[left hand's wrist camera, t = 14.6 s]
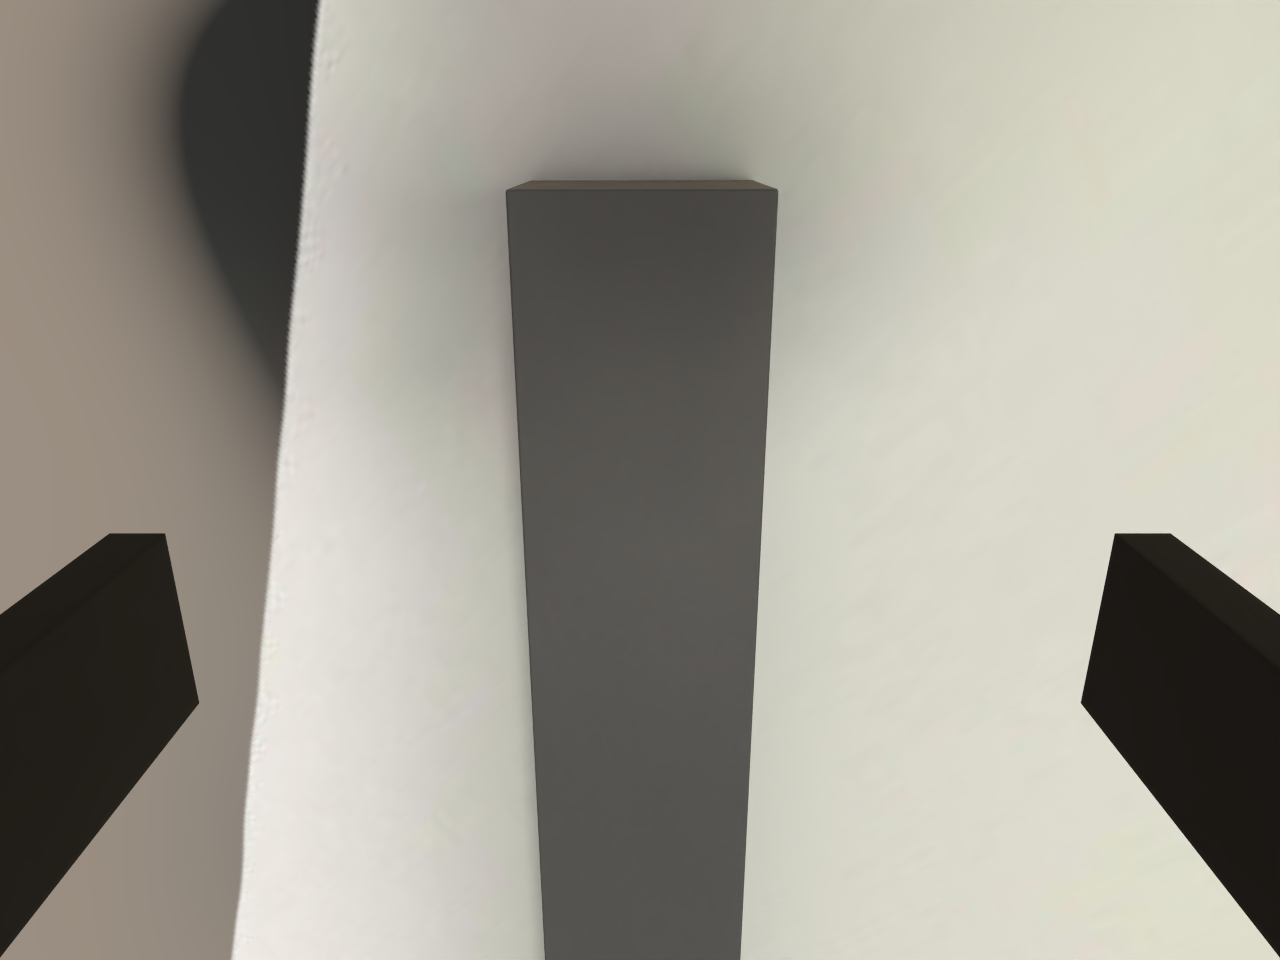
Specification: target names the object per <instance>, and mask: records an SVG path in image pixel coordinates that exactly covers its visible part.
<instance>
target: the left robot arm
mask: <svg viewBox="0 0 1280 960" xmlns="http://www.w3.org/2000/svg"><path fill="white" fill-rule="evenodd" d="M198 704H199V700H198V695H197V690H196V685H195V680H194V675H193V670H192V665H191V660H190V655H189V650H188V645H187V640H186V635H185V630H184V626H183V620H182V616H181V611H180V606H179V601H178V596H177V591H176V586H175V581H174V576H173V571H172V566H171V561H170V556H169V551H168V546H167V541H166V536H165V534H108V535H107V536H106V537H104V538H103V539H102V540H100V541H99V542H98V543H96V544H95V545H93V546H92V547H91V548H89V549H88V550H87V551H85V552H84V553H83V554H81V555H80V556H79V557H77V558H76V559H75V560H73V561H72V562H71V563H69V564H68V565H67V566H65V567H64V568H62V569H61V570H60V571H58V572H57V573H56V574H54V575H53V576H52V577H50V578H49V579H48V580H46V581H45V582H44V583H42V584H41V585H40V586H38V587H37V588H36V589H34V590H33V591H32V592H30V593H29V594H27V595H26V596H25V597H23V598H22V599H21V600H19V601H18V602H17V603H15V604H14V605H13V606H11V607H10V608H9V609H7V610H6V611H5V612H3V613H2V614H1V615H0V957H1V956H2V954H3V953H4V952H5V951H6V949H7V948H8V947H9V945H10V944H11V943H12V942H13V940H14V939H15V938H16V937H17V935H18V934H19V933H20V931H21V930H22V929H23V927H24V926H25V925H26V924H27V922H28V921H29V920H30V919H31V917H32V916H33V915H34V913H35V912H36V911H37V910H38V908H39V907H40V906H41V905H42V903H43V902H44V901H45V899H46V898H47V897H48V895H49V894H50V893H51V892H52V890H53V889H54V888H55V887H56V885H57V884H58V883H59V881H60V880H61V879H62V878H63V876H64V875H65V874H66V873H67V871H68V870H69V869H70V867H71V866H72V865H73V864H74V862H75V861H76V860H77V859H78V857H79V856H80V855H81V853H82V852H83V851H84V850H85V848H86V847H87V846H88V844H89V843H90V842H91V841H92V839H93V838H94V837H95V836H96V834H97V833H98V832H99V830H100V829H101V828H102V827H103V825H104V824H105V823H106V821H107V820H108V819H109V818H110V816H111V815H112V814H113V812H114V811H115V810H116V809H117V807H118V806H119V805H120V803H121V802H122V801H123V800H124V798H125V797H126V796H127V795H128V793H129V792H130V791H131V790H132V788H133V787H134V786H135V784H136V783H137V782H138V781H139V779H140V778H141V777H142V775H143V774H144V773H145V772H146V770H147V769H148V768H149V767H150V765H151V764H152V763H153V761H154V760H155V759H156V758H157V756H158V755H159V754H160V752H161V751H162V750H163V749H164V747H165V746H166V745H167V743H168V742H169V741H170V740H171V738H172V737H173V736H174V735H175V733H176V732H177V731H178V729H179V728H180V727H181V726H182V724H183V723H184V722H185V720H186V719H187V718H188V717H189V715H190V714H191V713H192V711H193V710H194V709H195V708H196V706H197V705H198ZM1081 704H1082V705H1083V706H1084V708H1085V709H1086V710H1087V712H1088V713H1089V714H1090V715H1091V717H1092V718H1093V719H1094V720H1095V722H1096V723H1097V724H1098V726H1099V727H1100V728H1101V729H1102V731H1103V732H1104V733H1105V735H1106V736H1107V737H1108V738H1109V740H1110V741H1111V742H1112V743H1113V745H1114V746H1115V747H1116V749H1117V750H1118V751H1119V752H1120V754H1121V755H1122V756H1123V758H1124V759H1125V760H1126V761H1127V763H1128V764H1129V765H1130V767H1131V768H1132V769H1133V770H1134V772H1135V773H1136V774H1137V775H1138V777H1139V778H1140V779H1141V781H1142V782H1143V783H1144V784H1145V786H1146V787H1147V788H1148V790H1149V791H1150V792H1151V793H1152V795H1153V796H1154V797H1155V798H1156V800H1157V801H1158V802H1159V804H1160V805H1161V806H1162V807H1163V809H1164V810H1165V811H1166V813H1167V814H1168V815H1169V816H1170V818H1171V819H1172V820H1173V821H1174V823H1175V824H1176V825H1177V827H1178V828H1179V829H1180V830H1181V832H1182V833H1183V834H1184V836H1185V837H1186V838H1187V839H1188V841H1189V842H1190V843H1191V844H1192V846H1193V847H1194V848H1195V850H1196V851H1197V852H1198V853H1199V855H1200V856H1201V857H1202V859H1203V860H1204V861H1205V862H1206V864H1207V865H1208V866H1209V867H1210V869H1211V870H1212V871H1213V873H1214V874H1215V875H1216V876H1217V878H1218V879H1219V880H1220V882H1221V883H1222V884H1223V885H1224V887H1225V888H1226V889H1227V890H1228V892H1229V893H1230V894H1231V896H1232V897H1233V898H1234V899H1235V901H1236V902H1237V903H1238V905H1239V906H1240V907H1241V908H1242V910H1243V911H1244V912H1245V913H1246V915H1247V916H1248V917H1249V919H1250V920H1251V921H1252V922H1253V924H1254V925H1255V926H1256V928H1257V929H1258V930H1259V931H1260V933H1261V934H1262V935H1263V937H1264V938H1265V939H1266V940H1267V942H1268V943H1269V944H1270V945H1271V947H1272V948H1273V949H1274V951H1275V952H1276V953H1277V954H1278V956H1279V957H1280V615H1279V614H1278V613H1277V612H1275V611H1274V610H1273V609H1271V608H1270V607H1269V606H1267V605H1266V604H1265V603H1263V602H1262V601H1261V600H1259V599H1258V598H1257V597H1255V596H1254V595H1253V594H1251V593H1250V592H1248V591H1247V590H1246V589H1244V588H1243V587H1242V586H1240V585H1239V584H1238V583H1236V582H1235V581H1234V580H1232V579H1231V578H1230V577H1228V576H1227V575H1226V574H1224V573H1223V572H1222V571H1220V570H1219V569H1218V568H1216V567H1215V566H1213V565H1212V564H1211V563H1209V562H1208V561H1207V560H1205V559H1204V558H1203V557H1201V556H1200V555H1199V554H1197V553H1196V552H1195V551H1193V550H1192V549H1191V548H1189V547H1188V546H1187V545H1185V544H1184V543H1183V542H1181V541H1180V540H1178V539H1177V538H1176V537H1174V536H1173V535H1172V534H1115V536H1114V541H1113V546H1112V551H1111V556H1110V561H1109V566H1108V571H1107V576H1106V581H1105V586H1104V591H1103V596H1102V601H1101V606H1100V610H1099V615H1098V620H1097V625H1096V630H1095V635H1094V640H1093V645H1092V650H1091V655H1090V660H1089V665H1088V670H1087V675H1086V680H1085V685H1084V690H1083V695H1082V700H1081Z"/></svg>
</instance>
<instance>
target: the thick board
mask: <svg viewBox="0 0 1280 960" xmlns="http://www.w3.org/2000/svg"><path fill="white" fill-rule="evenodd" d="M777 205H778V190H777V189H775V188H772V187H769V186H766V185H764V184H761V183H758V182H755V181H752V180H733V181H529V182H527V183H524V184H521V185H519V186H516V187H513V188H510V189H508V190H506V206H507V226H508V245H509V265H510V284H511V304H512V323H513V343H514V362H515V382H516V401H517V421H518V440H519V460H520V480H521V499H522V519H523V538H524V558H525V577H526V597H527V616H528V636H529V655H530V675H531V694H532V714H533V733H534V753H535V773H536V792H537V812H538V831H539V851H540V870H541V890H542V909H543V929H544V948H545V960H740V954H741V934H742V913H743V893H744V873H745V853H746V832H747V812H748V792H749V772H750V752H751V731H752V711H753V691H754V671H755V650H756V630H757V610H758V590H759V570H760V549H761V529H762V509H763V489H764V468H765V448H766V428H767V408H768V387H769V367H770V347H771V327H772V307H773V286H774V266H775V246H776V226H777Z"/></svg>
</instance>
